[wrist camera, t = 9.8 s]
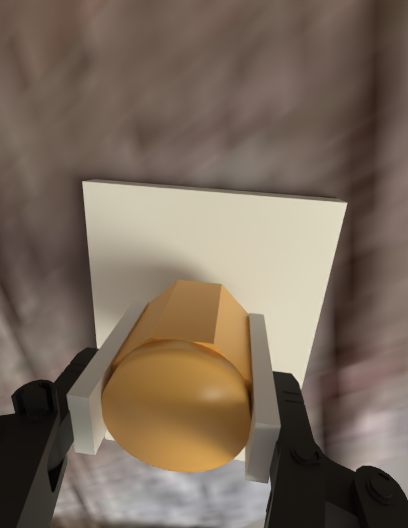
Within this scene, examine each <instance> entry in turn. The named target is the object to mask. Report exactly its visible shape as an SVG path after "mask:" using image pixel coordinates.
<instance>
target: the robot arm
mask: <svg viewBox="0 0 408 528" xmlns="http://www.w3.org/2000/svg"><path fill="white" fill-rule="evenodd" d="M147 306H148V301H142V300H134V301H133V302H132V304H131V305H130V307H129V308H128V309H127V311H126V312H125V314H124V315H123V316H122V318H121V319H120V321H119V322H118V323H117V325H116V326H115V328H114V329H113V330H112V332H111V333H110V335H109V336H108V337H107V339H106V340H105V342H104V343H103V344H102V346H101V347H100V349H96V348H89V347H87V348H86V349H84V350H83V351H81V352H80V353H78V354H77V355H76V356H75V357H74V359H73V360H72V361H71V362H70V365H68V366H67V367H66V368H65V370H64V372H62V373H61V375H60V376H59V377H58V378H57V380H56V381H55V382H54V383H53V382H51V381H49V380H36V381H32V382H29V383H27V384H25V385H23V386H22V387H20V388H19V389H17V390H16V391H15V392H14V394H13V395H12V396H11V397H12V402H13V406H14V410H15V413H14V414H8V415H1V416H0V528H49V527H50V524H51V520H52V516H53V513H54V509H55V506H56V502H57V498H58V495H59V491H60V488H61V484H62V480H63V477H64V473H65V469H66V466H67V452H68V450H69V448H70V446H71V445H72V443H73V442H74V449H75V452H78V453H84V454H90V455H95V454H96V452H97V450H98V448H99V446H100V444H101V442H102V440H103V438H104V435H105V433H106V431H107V428H106V426H105V423H104V420H103V417H102V407H101V399H102V394H103V392H104V389H105V387H106V385H107V384H108V382H109V380H110V378H111V377H112V366H111V365H112V364H113V362H114V361H115V359H116V357H117V356H118V354H119V352H120V351H121V349H122V347H123V346H124V344H125V342H126V341H127V339H128V337H129V336H130V334H131V332H132V331H133V329H134V327H135V326H136V324H137V323H138V321H139V319H140V318H141V316H142V314H143V313H144V311H145V309H146V308H147ZM249 330H250V347H251V364H252V381H253V386H252V392H251V398H250V410H251V428H250V433H249V439H248V441H247V443H246V446H245V476H246V480H249V481H255V482H261V483H267V484H268V480H269V476H270V481H271V492H270V496H269V500H268V504H267V509H266V518H265V525H264V528H408V500H407V497H406V495H405V493H404V492H403V490H402V489H401V487H400V485H399V484H398V483H397V482H396V481H395V480H394V479H393V478H392V477H391V476H390V475H389V474H387V473H385V472H384V471H382V470H381V469H379V468H376V467H373V466H361V467H360V468H358V469H357V470H356V472H355V471H352V470H350V469H348V468H346V467H344V466H342V465H339V464H337V463H335V462H334V461H332V460H330V459H329V458H328V457H327V456H325V455H324V454H323V452H322V451H321V449H320V447H319V446H318V445H317V444H316V443H315V441H314V438H313V435H312V431H311V427H310V423H309V420H308V416H307V412H306V408H305V405H304V400H303V396H302V393H301V389H300V385H299V382H298V381H297V380H296V378H295V377H294V376H293V374H292V373H285V372H278V371H272V365H271V358H270V352H269V345H268V338H267V332H266V325H265V319H264V314H255V313H249Z"/></svg>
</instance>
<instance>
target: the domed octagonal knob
mask: <svg viewBox="0 0 408 528" xmlns="http://www.w3.org/2000/svg"><path fill="white" fill-rule="evenodd" d="M111 366H112V377H111V378H110V380H109V382H108V384H107V385H106V387H105V389H104V392H103V394H102V399H101V407H102V417H103V420H104V423H105V426H106V428H107V430H108V431H109V433H110V434H111V436H112V437H113V438H114V440H115V441H116V442H117V443H118V444H119V445H120V446H121V447H122V448H123V449H124V450H126V451H127V452H128V453H129V454H131V455H132V456H134V457H136V458H137V459H139V460H141V461H143V462H145V463H147V464H149V465H152V466H154V467H158V468H161V469H165V470H169V471H176V472H201V471H207V470H211V469H215V468H217V467H220V466H222V465H224V464H226V463H228V462H230V461H231V460H232V459H234V458H235V457H236V456H237V455H238V454H239V453H240V452H241V451H242V450H243V448H244V447H245V446H246V443H247V441H248V439H249V433H250V428H251V410H250V398H251V392H252V386H253V381H252V364H251V347H250V330H249V314H248V313H247V312H246V311H245V309H244V308H243V307H242V306H241V305H240V304H239V303H238V302H237V301H236V299H235V298H234V297H233V296H232V295H231V294H230V293H229V292H228V291H227V289H226V288H225V287H224V286H223V285H222V284H216V283H207V282H197V281H188V280H177V281H176V282H175V283H174V284H172V285H171V286H170V287H169V288H167V289H166V290H165V291H164V292H162V293H161V294H160V295H158V296H157V297H156V298H155V299H153V300H152V301H151V302H150V303H149V304H148V306H147V308H146V309H145V311H144V313H143V314H142V316H141V318H140V319H139V321H138V323H137V324H136V326H135V327H134V329H133V331H132V332H131V334H130V336H129V337H128V339H127V341H126V342H125V344H124V346H123V347H122V349H121V351H120V352H119V354H118V356H117V357H116V359H115V361H114V362H113V364H112V365H111Z"/></svg>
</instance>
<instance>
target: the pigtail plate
mask: <svg viewBox="0 0 408 528" xmlns="http://www.w3.org/2000/svg"><path fill="white" fill-rule="evenodd" d="M82 183H83V194H84V205H85V217H86V228H87V239H88V250H89V262H90V273H91V284H92V296H93V307H94V318H95V329H96V341H97V349H100V347H101V346H102V344H103V343H104V342H105V340H106V339H107V337H108V336H109V335H110V333H111V332H112V330H113V329H114V328H115V326H116V325H117V323H118V322H119V321H120V319H121V318H122V316H123V315H124V314H125V312H126V311H127V309H128V308H129V307H130V305H131V304H132V302H133V301H134V300H142V301H148V304H149V303H150V302H151V301H152V300H153V299H155V298H156V297H157V296H158V295H160V294H161V293H162V292H164V291H165V290H166V289H167V288H169V287H170V286H171V285H172V284H174V283H175V282H176V281H177V280H188V281H197V282H207V283H216V284H222V285H223V286H224V287H225V288H226V289H227V291H228V292H229V293H230V294H231V295H232V296H233V297H234V298H235V299H236V301H237V302H238V303H239V304H240V305H241V306H242V307H243V308H244V309H245V311H246V312H247V313H248V314H249V313H255V314H264V319H265V325H266V332H267V338H268V345H269V352H270V358H271V365H272V371H278V372H285V373H292V374H293V376H294V377H295V378H296V380H297V381H298V382H299V385H300V389H301V388H302V384H303V380H304V376H305V372H306V368H307V364H308V360H309V356H310V352H311V348H312V344H313V340H314V336H315V331H316V327H317V323H318V319H319V315H320V311H321V307H322V303H323V299H324V295H325V291H326V287H327V283H328V279H329V275H330V271H331V267H332V263H333V259H334V255H335V250H336V246H337V242H338V238H339V234H340V230H341V226H342V222H343V218H344V214H345V210H346V206H347V203H346V202H344V201H342V200H340V199H337V198H325V197H312V196H300V195H287V194H275V193H262V192H250V191H237V190H225V189H212V188H200V187H187V186H175V185H162V184H150V183H137V182H125V181H112V180H100V179H93V180H87V181H82ZM105 439H108V440H114V438H113V437H112V436H111V434H110V433H109V431H108V430H107V431H106V433H105ZM234 459H235V460H241V461H245V447H244V448H243V450H242V451H241V452H240V453H239V454H238V455H237V456H236V457H235V458H234Z"/></svg>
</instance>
